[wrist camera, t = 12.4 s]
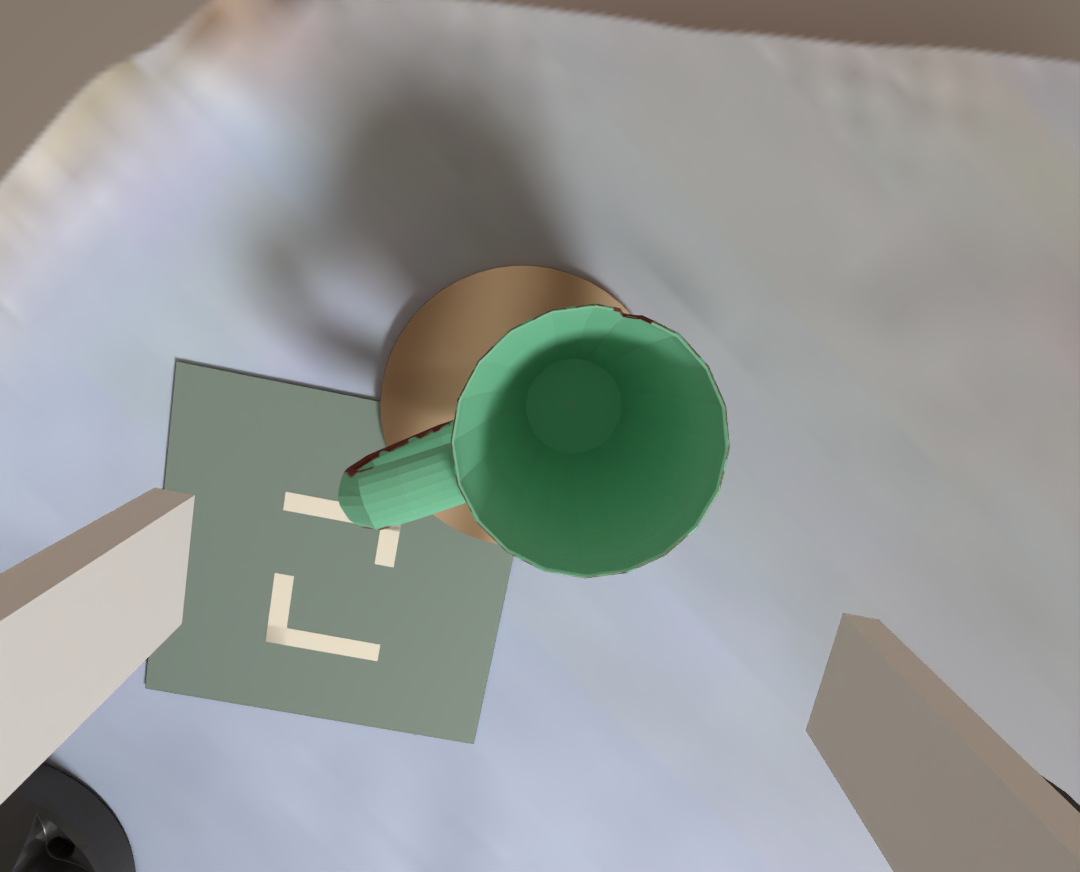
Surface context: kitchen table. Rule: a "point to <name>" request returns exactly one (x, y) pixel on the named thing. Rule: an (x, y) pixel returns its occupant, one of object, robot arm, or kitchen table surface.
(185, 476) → the tile
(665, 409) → the mug
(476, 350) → the coaster
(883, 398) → the kitchen table surface
